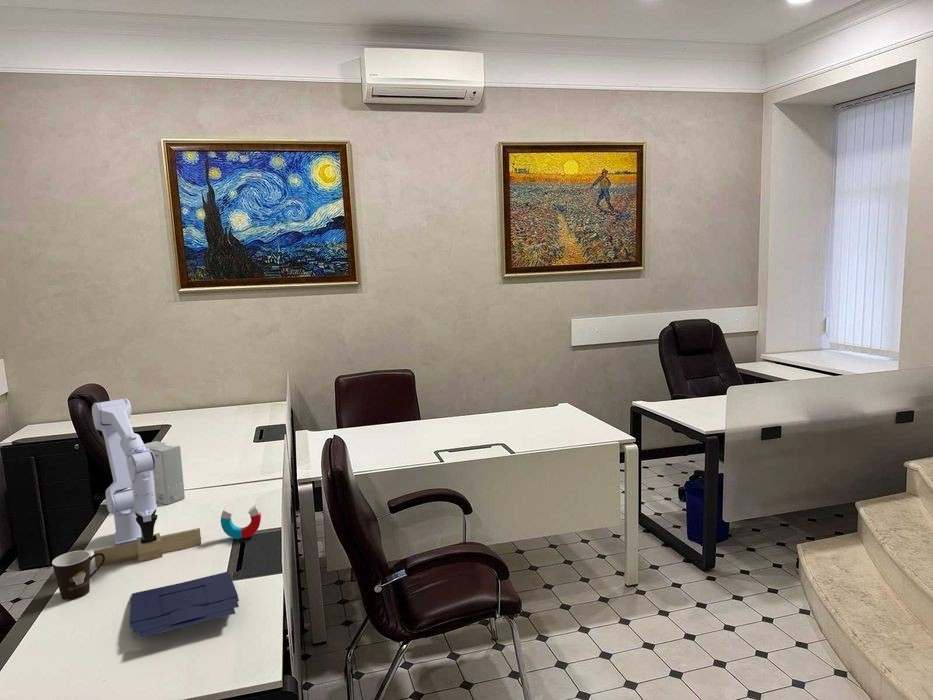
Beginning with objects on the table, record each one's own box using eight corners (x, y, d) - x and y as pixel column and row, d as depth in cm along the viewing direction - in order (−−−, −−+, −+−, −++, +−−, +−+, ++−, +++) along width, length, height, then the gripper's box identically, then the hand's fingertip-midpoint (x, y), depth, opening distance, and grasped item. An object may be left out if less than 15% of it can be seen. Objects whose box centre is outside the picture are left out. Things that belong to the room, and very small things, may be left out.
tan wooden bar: (95, 562, 185) (94, 546, 184) (199, 540, 198) (198, 524, 198) (95, 571, 180) (93, 555, 179) (202, 547, 193) (201, 532, 192)
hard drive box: (185, 498, 233) (181, 446, 230) (166, 505, 226) (161, 451, 223) (161, 490, 241) (156, 440, 238) (141, 497, 235) (136, 445, 232)
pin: (153, 540, 190) (150, 518, 189) (154, 544, 188) (152, 522, 187) (142, 543, 189) (139, 521, 188) (143, 547, 186) (140, 524, 185)
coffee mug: (54, 605, 162) (50, 569, 161) (58, 590, 170) (53, 555, 168) (106, 594, 168) (102, 558, 166) (107, 579, 175) (104, 545, 174)
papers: (129, 653, 140) (128, 637, 140) (131, 603, 167) (130, 590, 167) (244, 622, 151) (243, 607, 151) (229, 580, 178) (228, 568, 178)
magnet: (222, 541, 197) (219, 510, 196) (223, 537, 200) (221, 507, 198) (261, 537, 200) (259, 507, 198) (262, 533, 202) (260, 503, 201)
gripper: (127, 487, 190) (132, 530, 192) (129, 503, 178) (134, 549, 180) (154, 482, 194) (158, 524, 196) (157, 498, 181) (161, 543, 183)
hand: (148, 536), depth 188 cm, fingers closed on pin, 3 cm apart
